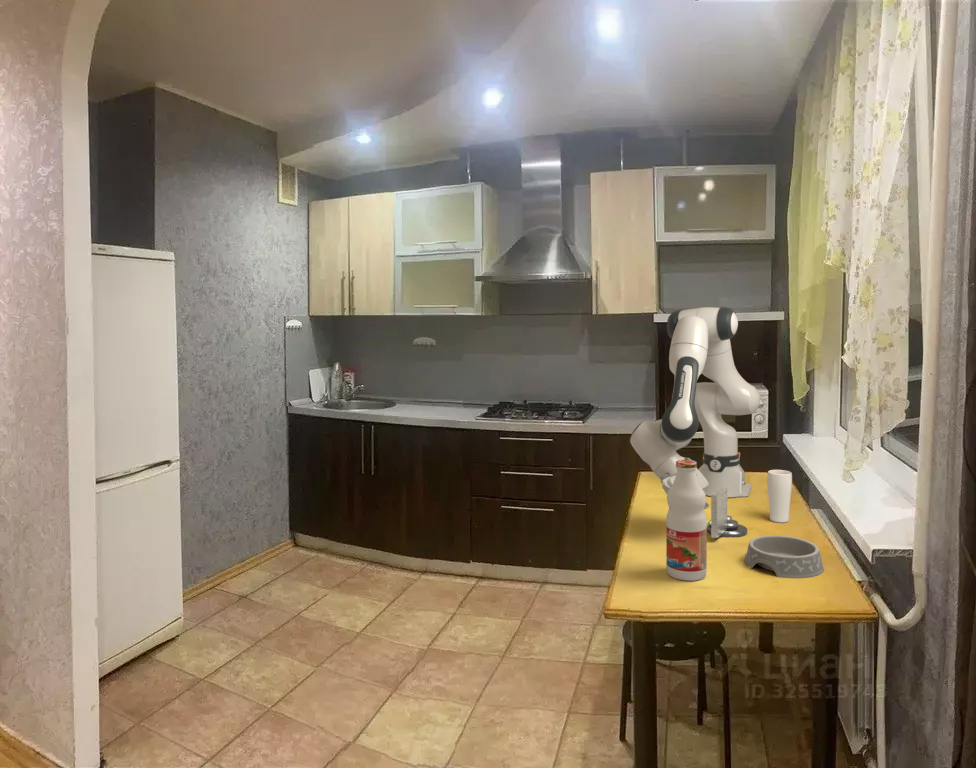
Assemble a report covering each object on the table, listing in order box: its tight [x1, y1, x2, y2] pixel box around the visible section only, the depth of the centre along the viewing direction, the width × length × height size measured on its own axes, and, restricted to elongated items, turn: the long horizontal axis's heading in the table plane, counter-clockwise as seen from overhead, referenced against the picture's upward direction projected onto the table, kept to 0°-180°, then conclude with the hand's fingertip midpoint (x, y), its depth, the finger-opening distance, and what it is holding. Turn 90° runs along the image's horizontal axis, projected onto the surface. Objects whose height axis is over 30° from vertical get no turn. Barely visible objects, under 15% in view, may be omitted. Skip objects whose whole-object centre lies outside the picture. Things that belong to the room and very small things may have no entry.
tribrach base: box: [707, 519, 748, 538], centre depth 196 cm, size 11×11×2 cm
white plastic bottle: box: [665, 459, 708, 582], centre depth 163 cm, size 9×9×28 cm
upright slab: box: [710, 488, 739, 539], centre depth 192 cm, size 14×6×12 cm, turn 143°
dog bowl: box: [744, 534, 825, 579], centre depth 169 cm, size 17×18×5 cm
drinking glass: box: [767, 469, 793, 524], centre depth 203 cm, size 7×7×15 cm
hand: (705, 508), depth 190 cm, fingers closed
